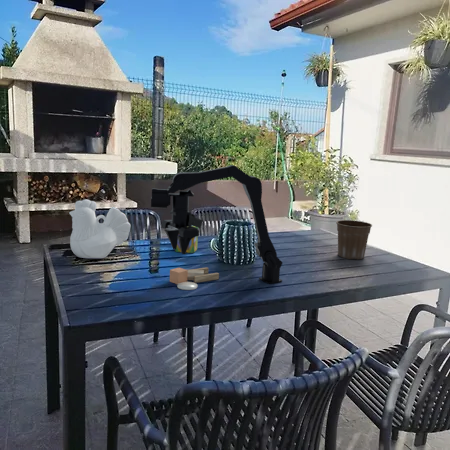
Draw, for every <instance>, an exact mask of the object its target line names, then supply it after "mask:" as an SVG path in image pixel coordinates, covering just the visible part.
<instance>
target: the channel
mask: <svg viewBox="0 0 450 450" xmlns="http://www.w3.org/2000/svg"><path fill="white" fill-rule="evenodd" d="M190 270H204V275H198V276H194V280H193V283H196V284H197V283H203V282H211V281H216V280H220V279H219V278H220V273H219V272H214V273H209V267H200V268H192V269H190Z"/></svg>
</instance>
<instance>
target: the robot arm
mask: <svg viewBox="0 0 450 450" xmlns="http://www.w3.org/2000/svg"><path fill="white" fill-rule="evenodd" d="M228 178H233V179H234V180H236V181H237V182H238V183H240V184H241V185H242V189H244V190H243V191H244V193H245V195H246V197H247V199H248V201H249V204H250V208H251V213H252V217H253V221H254V226H255V229H256V230H255V232H256V236H257V242H254V244H253V245H254V247H255V254H256V255H257V256H258V257H259V258H261V260H262V262H263V263H262V270H261V274H262V275H261V277H258V279H259V280H260V281H263V282H265V283H267V284H269V285H271V284H276V283H281V282H283V280H282V279H281V278H280V273H281V268H282V265H283V261H282V260H281V259H280V258H279V257H278V254H277V251H276V248H275V246H274V244H273V242H272V240H271V238H270V236H269V235H270V234H269V230H268V226H267V220H266V216H265V212H264V208H263V202H262V195H263V184H262V180H261V179H259V178H258V177H256V176H253V175H249V174H248V173H246V172H245V171H243V170H242V169H240V168H239V167H238V166H237V165H233V164H231V165H228V166H223V167H219V168H218V167H217V168H213V169H207V170H203V171H195V172H194V171H192V172H191V171H188V172H185V171H184V172H183V171H182V172H176V173H175V175H173V177H172V182H171V183H170V185H169V186H168V187H167V189H165V188H155V187H154V188H151V197H150V208H151V209H167V208H168V207H170V206H171V205H172V207H171V208H172V209H171V210H169V214H170V215H171V219H164V220H163V221H162V222H161V229H164V230H163V231H164V232H165V235H166V236H167V238H168V241H169V243H170V245H171V248H172V250H175V249H176V248H177V242H178V241H179V244H180V248H181V252H180V253H181V254H182V255H186V250H187V248H188V245H189V242H190V240H191V239H192V238H194V237H196V236H198V237H200V229H201V228H202V224H203V223H204V219H200V218H197V217H196V215H195V214H194V213H192V212H191V211H189V207H190V205H189V203H190V201H189V200H190V199H189V198H190V197H195V194H194V193H193V191H191V188H192V187H194V186H197V185H198V184H202V183H207V182H212V181H218V180H222V179H228ZM176 192H177V193H176ZM171 197H172V201H171ZM171 203H172V204H171ZM193 226H195V227H198V228H195V227H193ZM178 235H179V236H178Z"/></svg>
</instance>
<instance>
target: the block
mask: <svg viewBox="0 0 450 450" xmlns="http://www.w3.org/2000/svg"><path fill="white" fill-rule="evenodd" d="M188 270H189V269H186V268H182V267H176V268H171V269H169V283H173V284H175V285H178V284H179V283H181V282H188V280H187V277H188Z"/></svg>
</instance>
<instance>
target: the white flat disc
mask: <svg viewBox="0 0 450 450" xmlns="http://www.w3.org/2000/svg"><path fill="white" fill-rule="evenodd" d="M176 286H177V288H178V289H179V290H182V291H193V290H196V289H197V288H198V284H197V283H195V282H194V281H193V282H192V281H187V282H181V283H179V284H176Z"/></svg>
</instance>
